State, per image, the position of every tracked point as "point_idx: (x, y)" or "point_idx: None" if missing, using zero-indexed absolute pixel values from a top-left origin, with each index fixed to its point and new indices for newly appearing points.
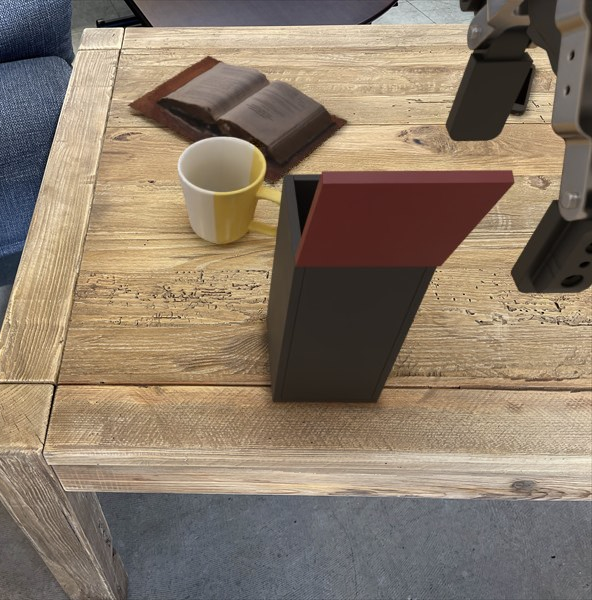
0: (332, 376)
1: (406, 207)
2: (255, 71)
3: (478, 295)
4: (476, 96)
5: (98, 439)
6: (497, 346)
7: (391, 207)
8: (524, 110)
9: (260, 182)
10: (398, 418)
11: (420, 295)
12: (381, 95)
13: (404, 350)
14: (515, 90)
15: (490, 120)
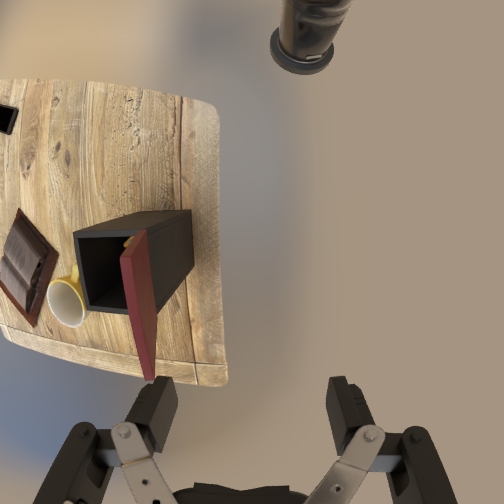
0: (185, 244)
1: (144, 308)
2: (1, 262)
3: (121, 141)
4: (166, 424)
5: (221, 345)
6: (154, 136)
7: (146, 318)
8: (16, 109)
9: (70, 283)
10: (200, 198)
11: (156, 226)
12: (4, 186)
13: (157, 188)
14: (157, 407)
15: (168, 395)
